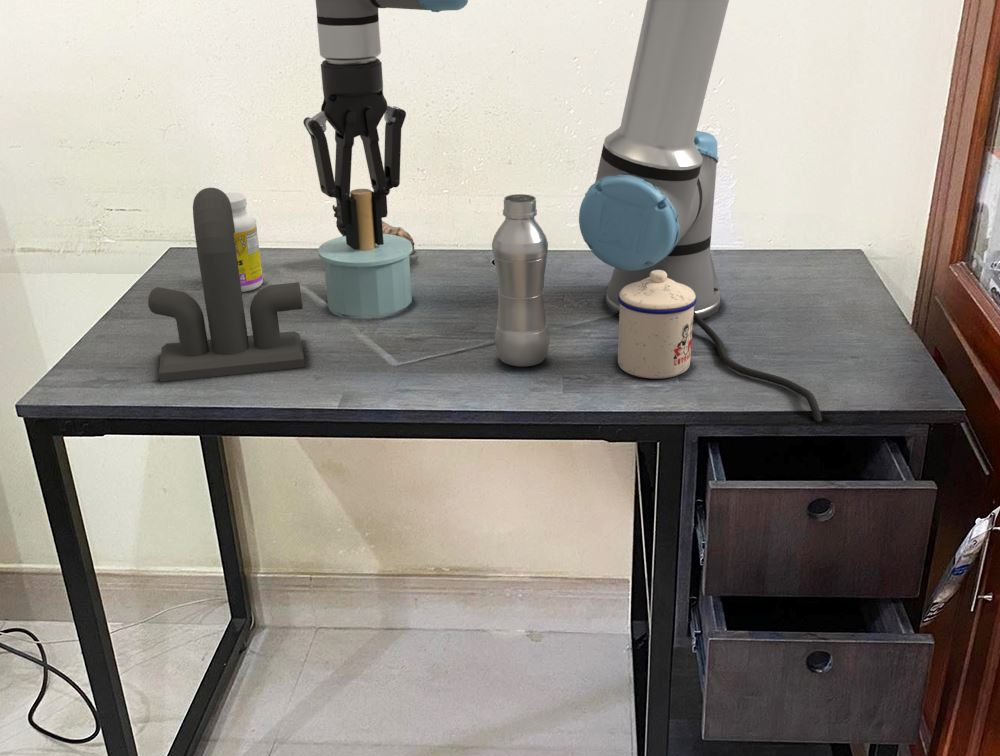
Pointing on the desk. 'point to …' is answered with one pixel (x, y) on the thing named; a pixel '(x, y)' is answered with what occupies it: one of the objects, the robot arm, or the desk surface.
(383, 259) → the lid
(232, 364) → the faucet
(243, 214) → the supplement bottle
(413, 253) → the brown striped lumpy figure
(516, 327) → the silver metal bottle
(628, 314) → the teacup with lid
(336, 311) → the bowl
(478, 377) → the desk surface
